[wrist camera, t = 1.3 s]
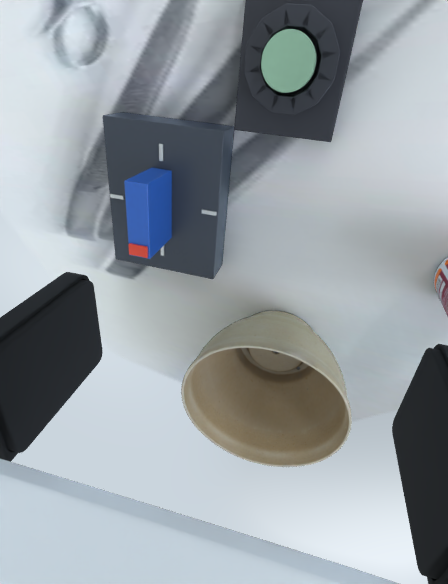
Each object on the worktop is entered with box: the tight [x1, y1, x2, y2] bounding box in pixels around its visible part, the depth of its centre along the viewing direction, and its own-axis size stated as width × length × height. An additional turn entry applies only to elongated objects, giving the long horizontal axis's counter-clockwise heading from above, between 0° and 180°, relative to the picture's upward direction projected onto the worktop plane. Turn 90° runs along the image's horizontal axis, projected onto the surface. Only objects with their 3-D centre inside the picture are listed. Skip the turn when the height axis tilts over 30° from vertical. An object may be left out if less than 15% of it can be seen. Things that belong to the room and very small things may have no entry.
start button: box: [261, 29, 316, 93], centre depth 25 cm, size 4×4×2 cm
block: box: [234, 0, 363, 142], centre depth 27 cm, size 10×8×4 cm
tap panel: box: [103, 112, 234, 279], centre depth 35 cm, size 14×11×4 cm
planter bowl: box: [181, 311, 352, 467], centre depth 38 cm, size 16×16×11 cm
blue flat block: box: [124, 168, 172, 259], centre depth 31 cm, size 6×2×5 cm, turn 175°
